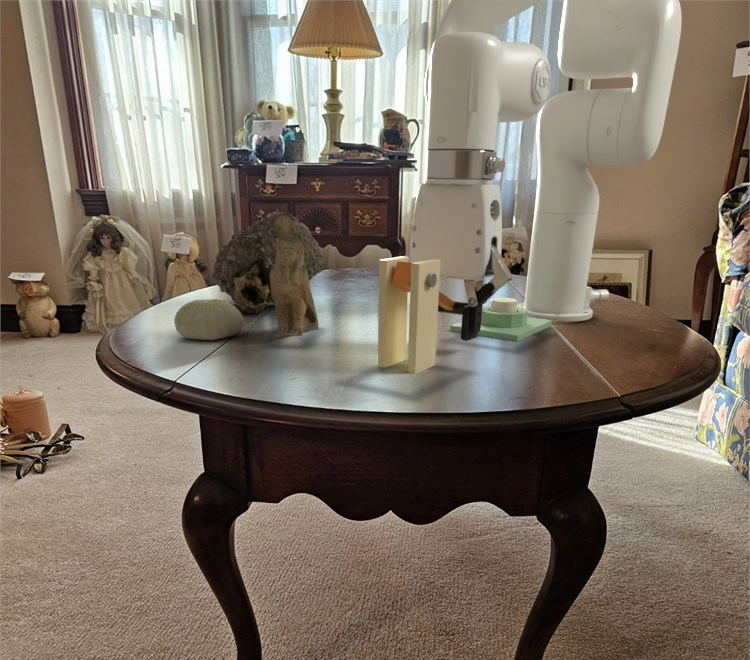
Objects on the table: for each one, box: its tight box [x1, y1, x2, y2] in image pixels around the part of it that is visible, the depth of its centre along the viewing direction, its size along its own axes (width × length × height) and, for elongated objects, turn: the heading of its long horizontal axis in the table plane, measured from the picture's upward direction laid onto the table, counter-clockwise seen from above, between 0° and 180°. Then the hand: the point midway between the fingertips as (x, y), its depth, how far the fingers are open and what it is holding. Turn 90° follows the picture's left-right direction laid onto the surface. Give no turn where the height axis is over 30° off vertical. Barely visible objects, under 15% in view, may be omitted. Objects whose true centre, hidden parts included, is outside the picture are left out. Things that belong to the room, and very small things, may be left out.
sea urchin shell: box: [173, 298, 244, 342], centre depth 92 cm, size 9×8×8 cm
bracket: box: [377, 255, 441, 374], centre depth 72 cm, size 12×9×13 cm
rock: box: [211, 209, 326, 314], centre depth 109 cm, size 18×14×15 cm
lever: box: [392, 261, 467, 316], centre depth 74 cm, size 13×5×2 cm, turn 145°
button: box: [490, 297, 519, 313], centre depth 91 cm, size 4×4×2 cm
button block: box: [449, 305, 553, 342], centre depth 92 cm, size 12×10×4 cm
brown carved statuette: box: [270, 212, 319, 342], centre depth 88 cm, size 12×6×18 cm, turn 170°
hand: (448, 333), depth 80 cm, fingers closed on lever, 5 cm apart
